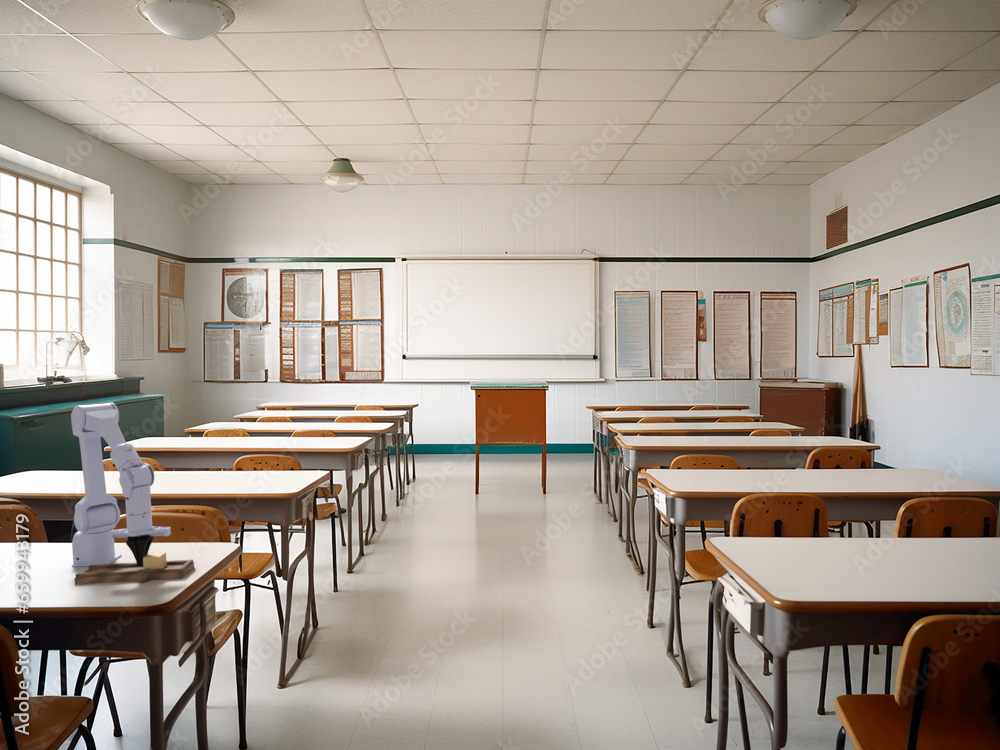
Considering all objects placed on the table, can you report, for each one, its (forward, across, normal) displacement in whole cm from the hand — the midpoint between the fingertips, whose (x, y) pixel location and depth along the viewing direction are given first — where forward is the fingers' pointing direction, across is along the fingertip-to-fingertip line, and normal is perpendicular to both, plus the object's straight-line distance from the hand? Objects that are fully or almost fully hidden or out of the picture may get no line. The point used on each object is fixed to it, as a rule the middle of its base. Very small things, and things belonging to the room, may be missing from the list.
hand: (141, 564), depth 169 cm
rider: (+1, +3, 0) cm, 4 cm away
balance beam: (+3, -2, 0) cm, 3 cm away
